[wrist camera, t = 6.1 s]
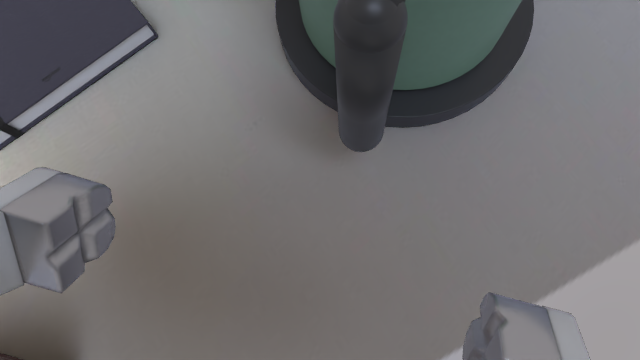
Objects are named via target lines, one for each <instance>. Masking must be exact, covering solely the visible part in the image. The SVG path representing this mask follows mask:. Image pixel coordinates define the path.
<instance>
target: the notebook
mask: <svg viewBox="0 0 640 360" xmlns="http://www.w3.org/2000/svg"><path fill="white" fill-rule="evenodd" d="M157 37H158V35H157V34H156V32H155V31H154V29H153V28H152V27H151V25H150V24H149V23H148V21H147V20H146V19H145V18H144V16H143V15H142V14H141V13H140V12H139V10H138V9H137V8H136V7H135V6H134V4H133V3H132V2H131V1H130V0H0V150H1V149H2V148H3V147H5V146H6V145H8V144H9V143H10V142H12V141H13V140H14V139H16V138H18V137H19V136H21V135H22V134H24V132H26V131H27V130H28V129H30V128H31V127H33V126H34V125H35V124H37V123H38V122H40V121H41V120H42V119H44V118H45V117H47V116H48V115H49V114H51V113H52V112H54V111H55V110H56V109H58V108H59V107H61V106H62V105H63V104H65V103H66V102H68V101H69V100H70V99H72V98H73V97H75V96H76V95H77V94H79V93H80V92H81V91H83V90H84V89H86V88H87V87H88V86H90V85H91V84H93V83H94V82H95V81H97V80H98V79H100V78H101V77H102V76H104V75H105V74H107V73H108V72H109V71H111V70H112V69H114V68H115V67H116V66H118V65H119V64H121V63H122V62H123V61H125V60H126V59H128V58H129V57H130V56H132V55H133V54H135V53H136V52H137V51H139V50H140V49H142V48H143V47H144V46H146V45H147V44H148V43H150V42H151V41H153V40H154V39H155V38H157Z"/></svg>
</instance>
